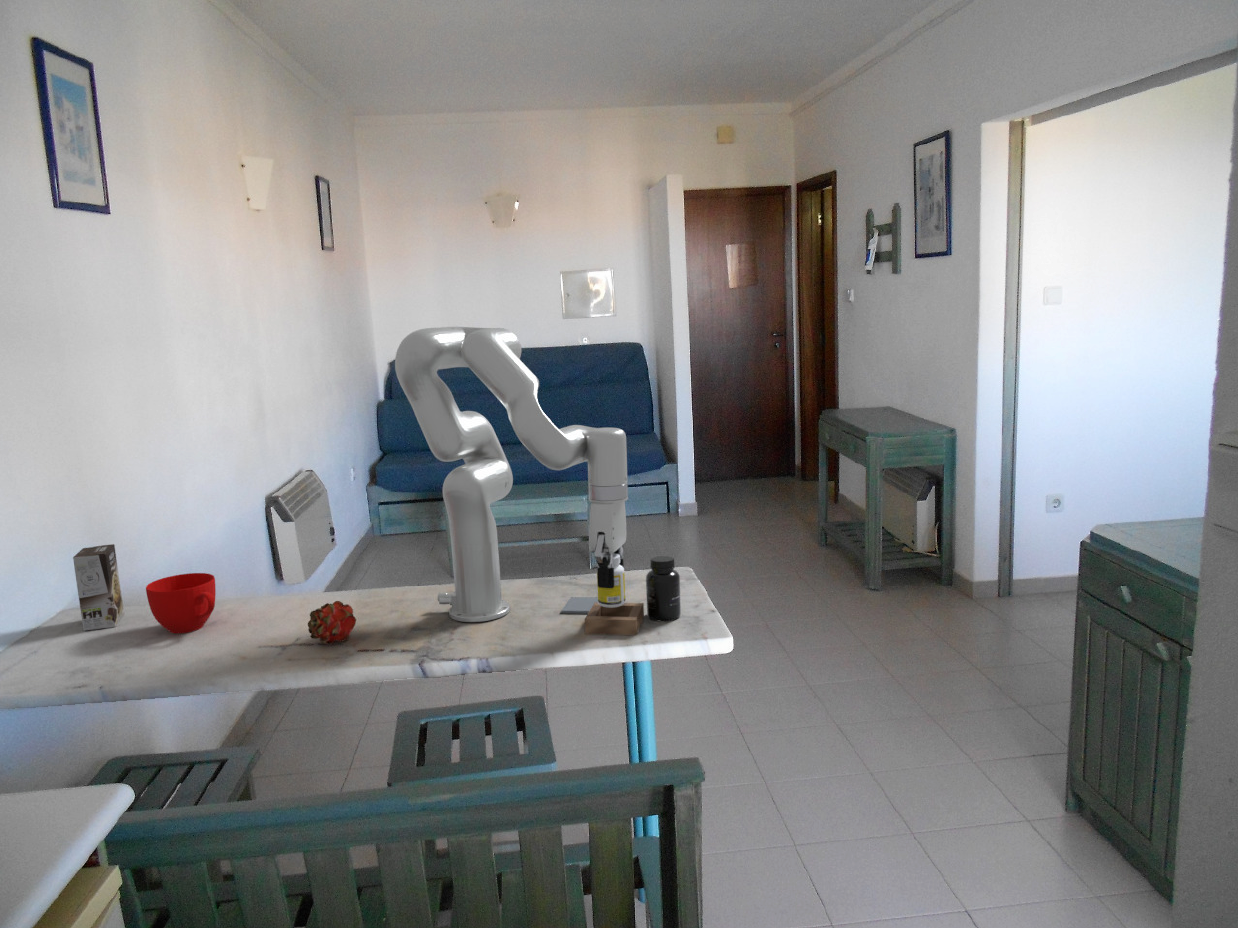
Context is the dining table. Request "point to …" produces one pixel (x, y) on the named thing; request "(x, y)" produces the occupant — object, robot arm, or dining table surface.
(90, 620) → the coffee box
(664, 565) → the supplement bottle
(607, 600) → the supplement bottle
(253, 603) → the dining table surface
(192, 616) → the ceramic cup
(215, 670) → the dining table surface
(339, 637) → the dragon fruit
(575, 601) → the slate mat
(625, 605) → the walnut collar
